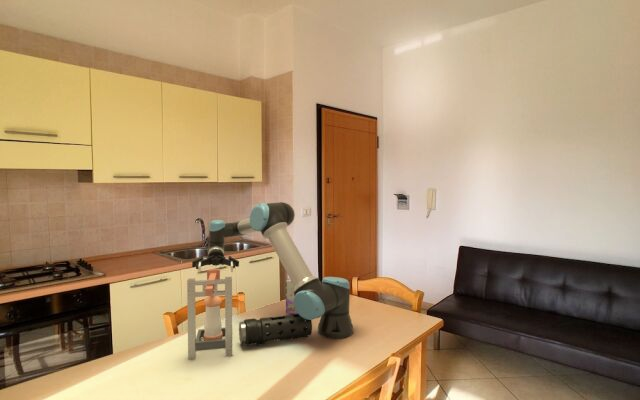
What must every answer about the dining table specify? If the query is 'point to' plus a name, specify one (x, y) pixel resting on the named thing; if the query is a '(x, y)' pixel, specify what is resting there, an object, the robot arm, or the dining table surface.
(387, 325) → the dining table surface
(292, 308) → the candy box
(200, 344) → the grey shallow square frame
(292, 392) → the dining table surface
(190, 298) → the frame
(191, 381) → the dining table surface
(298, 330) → the muzzle brake
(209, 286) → the bar
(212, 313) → the pepper shaker
